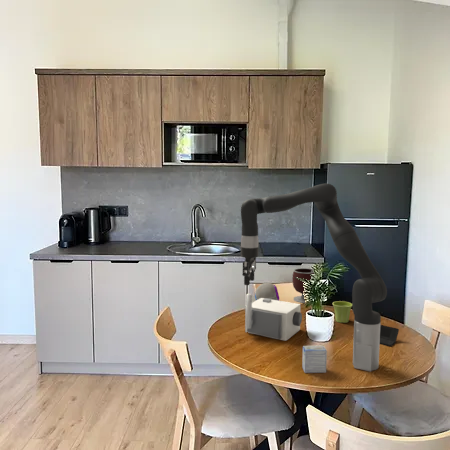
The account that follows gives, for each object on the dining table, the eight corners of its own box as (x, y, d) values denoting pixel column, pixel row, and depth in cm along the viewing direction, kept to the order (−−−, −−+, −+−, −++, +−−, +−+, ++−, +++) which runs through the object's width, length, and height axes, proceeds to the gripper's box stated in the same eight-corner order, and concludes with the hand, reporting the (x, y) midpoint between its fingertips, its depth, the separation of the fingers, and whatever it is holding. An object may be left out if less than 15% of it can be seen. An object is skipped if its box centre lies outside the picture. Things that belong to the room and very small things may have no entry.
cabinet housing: (290, 341, 184) (291, 312, 183) (245, 332, 196) (245, 304, 194) (304, 330, 198) (304, 302, 196) (260, 321, 209) (261, 295, 208)
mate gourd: (291, 302, 242) (291, 267, 239) (293, 295, 255) (293, 262, 253) (319, 304, 238) (320, 268, 236) (319, 297, 251) (320, 263, 249)
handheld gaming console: (364, 338, 184) (371, 317, 188) (366, 343, 190) (373, 323, 193) (392, 348, 178) (399, 325, 182) (393, 353, 184) (399, 331, 188)
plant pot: (328, 320, 211) (328, 303, 210) (339, 316, 217) (340, 299, 216) (344, 325, 204) (344, 307, 203) (355, 321, 210) (356, 304, 209)
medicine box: (323, 367, 160) (323, 345, 159) (326, 373, 155) (327, 350, 154) (301, 367, 159) (302, 345, 158) (304, 373, 155) (305, 350, 154)
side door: (276, 341, 182) (277, 299, 180) (243, 334, 190) (243, 294, 188) (281, 338, 186) (282, 297, 184) (248, 331, 194) (248, 291, 192)
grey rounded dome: (279, 315, 219) (280, 286, 218) (254, 314, 220) (254, 285, 219) (278, 307, 232) (279, 280, 231) (254, 307, 233) (255, 279, 232)
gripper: (254, 248, 178) (253, 287, 180) (261, 243, 191) (261, 279, 193) (236, 248, 180) (236, 286, 182) (245, 242, 193) (245, 278, 195)
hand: (249, 282), depth 187 cm, fingers open, 8 cm apart
